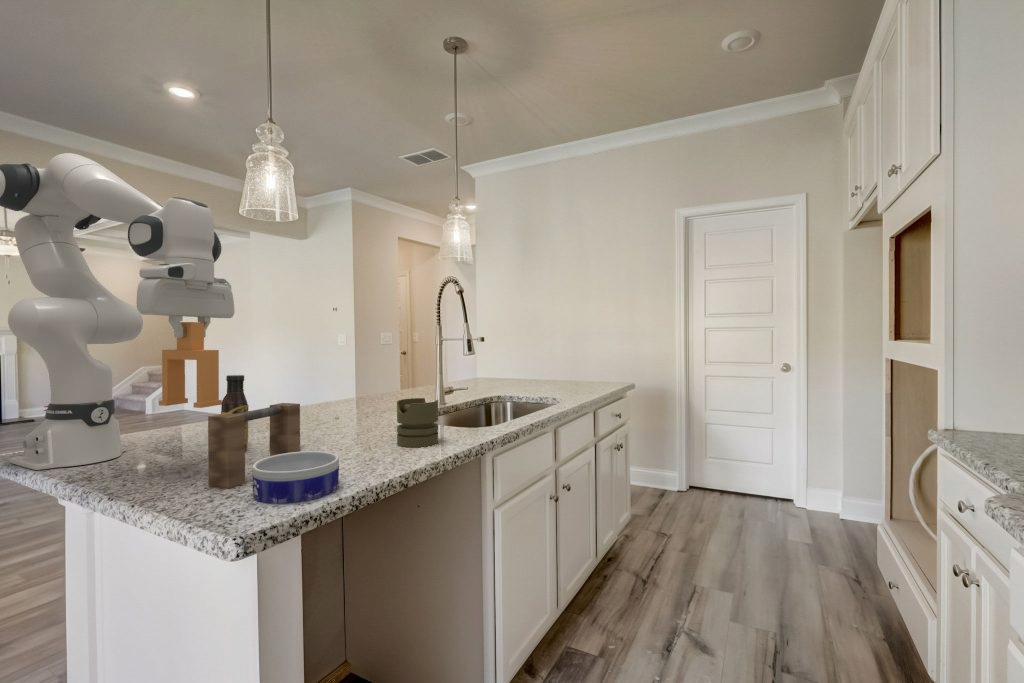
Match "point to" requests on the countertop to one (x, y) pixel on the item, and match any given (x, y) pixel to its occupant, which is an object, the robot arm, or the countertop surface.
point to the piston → (417, 423)
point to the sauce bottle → (235, 399)
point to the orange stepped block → (176, 369)
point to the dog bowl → (295, 477)
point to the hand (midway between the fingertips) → (190, 337)
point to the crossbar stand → (230, 441)
